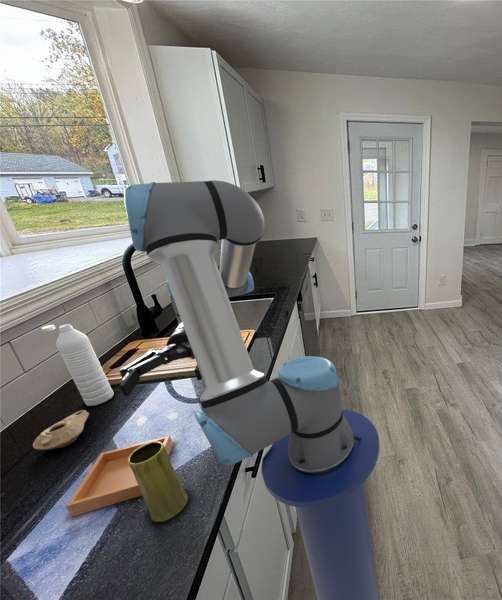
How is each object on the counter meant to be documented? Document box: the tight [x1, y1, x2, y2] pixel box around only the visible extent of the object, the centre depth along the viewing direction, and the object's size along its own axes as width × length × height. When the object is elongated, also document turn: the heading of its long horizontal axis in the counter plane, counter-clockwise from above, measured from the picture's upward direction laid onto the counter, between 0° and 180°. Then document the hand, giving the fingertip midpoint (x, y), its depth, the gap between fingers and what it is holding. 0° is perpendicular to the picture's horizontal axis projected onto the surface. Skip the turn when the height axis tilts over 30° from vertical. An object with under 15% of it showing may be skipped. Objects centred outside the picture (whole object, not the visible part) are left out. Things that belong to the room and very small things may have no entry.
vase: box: [128, 441, 189, 523], centre depth 59 cm, size 6×6×14 cm
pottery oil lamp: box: [32, 409, 90, 451], centre depth 79 cm, size 9×12×7 cm
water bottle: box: [40, 323, 115, 407], centre depth 90 cm, size 9×6×25 cm
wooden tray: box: [65, 434, 174, 517], centre depth 68 cm, size 14×14×3 cm
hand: (162, 382), depth 67 cm, fingers open, 13 cm apart
